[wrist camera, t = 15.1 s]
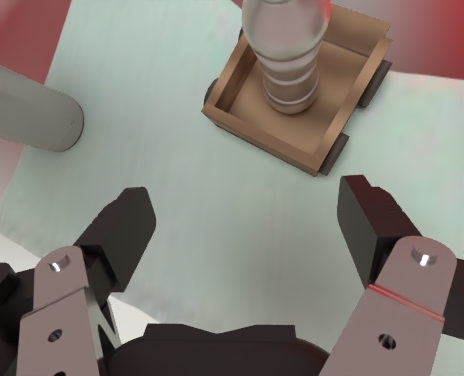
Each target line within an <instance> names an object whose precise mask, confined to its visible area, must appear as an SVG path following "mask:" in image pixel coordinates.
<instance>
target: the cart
mask: <svg viewBox="0 0 464 376" xmlns="http://www.w3.org/2000/svg"><path fill="white" fill-rule="evenodd" d="M390 26H391V24H390V23H387V22H384V21H381V20H378V19H375V18H372V17H369V16H367V15H364V14H360V13H358V12H355V11H352V10H349V9H346V8H343V7H340V6H337V5H334V4H331V13H330V19H329V23H328V27H327V30H326V33H325V35H324V38H323V40H322V43H321V46H320V48H319V53H318V58H317V66H318V70H319V74H320V89H319V93H318V95H317V97H316V98H315V100H314V102H313V103H312V104H311V105H310V106H309V107H308V108H307V109H305V110H304V111H302V112H299V113H295V114H286V113H282V112H280V111H278V110H276V109H275V108H273V107H272V106H271V104H270V103H269V102H268V101H267V99H266V97H265V95H264V92H263V70H262V66H261V64H260V62H259V59H258V58H257V56H256V54H255V53H254V51H253V50H252V48H251V46H250V45H249V43H248V41H247V39H246V37H245V35H244V31H243V28H241V30H240V34H239V39H238V43H237V45H236V47H235V49H234V51H233V53H232V54H231V56H230V58H229V60H228V62H227V64H226V66H225V68H224V69H223V71H222V73H221V75H220V77H219V78H217V79H215V80H214V81H213V82H212V84H211V85H210V87H209V88H208V90H207V93H206V95H205V99H204V107H203V109H202V111H201V112H202V113H203V114H204V115H205V116H206V117H208V118H209V119H210V120H211V121H212V122H213V123H214V124H215V125H216V126H218V127H220V128H222V129H224V130H226V131H228V132H229V133H231V134H233V135H235V136H237V137H239V138H241V139H243V140H245V141H247V142H249V143H251V144H253V145H254V146H256V147H258V148H260V149H262V150H264V151H266V152H268V153H270V154H272V155H274V156H276V157H278V158H279V159H281V160H283V161H285V162H287V163H289V164H291V165H293V166H295V167H297V168H299V169H301V170H303V171H304V172H306V173H308V174H310V175H312V176H314V177H315V176H316V174H317V173H318V171H319V172H320V173H322V174H324V175H326V176H327V175H328V173H329V171H330V170H331V168H332V167H333V165H334V163H335V161H336V160H337V158H338V156H339V155H340V153H341V151H342V150H343V148H344V146H345V144H346V143H347V141H348V139H349V137H350V136H348V135H345V134H343V133H341V131H342V129H343V128H344V126H345V124H346V123H347V121H348V119H349V117H350V116H351V114H352V112H353V110H354V109H355V107H356V105H357V104H360V105H362V106H364V107H367V106H368V104H369V102H370V101H371V99H372V98H373V96H374V94H375V93H376V91H377V89H378V88H379V86H380V84H381V82H382V81H383V79H384V77H385V76H386V74H387V72H388V70H389V69H390V67H391V65H392V63H391V62H388V61H386V60H383V58H384V56H385V54H386V52H387V51H388V49H389V47H390V45H391V43H392V41H393V40H392V39H389V38H386V37H384V36H385V35H386V33H387V31H388V30H389V28H390ZM382 60H383V61H382ZM381 62H382V63H381ZM380 63H381V64H380ZM379 65H380V66H379ZM378 67H379V68H378ZM377 69H378V70H377ZM375 72H376V73H375ZM374 74H375V75H374ZM373 76H374V77H373ZM371 79H372V80H371ZM370 81H371V82H370ZM369 83H370V84H369ZM368 84H369V85H368ZM367 86H368V87H367ZM366 88H367V89H366ZM365 90H366V91H365ZM364 91H365V92H364ZM363 93H364V94H363ZM362 95H363V96H362ZM361 97H362V98H361ZM360 98H361V99H360ZM359 100H360V101H359ZM358 102H359V103H358ZM340 133H341V134H340ZM338 136H339V137H338ZM337 138H338V139H337ZM336 140H337V141H336ZM334 143H335V144H334ZM333 145H334V146H333ZM331 148H332V149H331ZM330 150H331V151H330ZM329 152H330V153H329ZM327 155H328V156H327ZM326 157H327V158H326ZM325 159H326V160H325ZM323 162H324V163H323ZM322 164H323V165H322ZM321 166H322V167H321ZM319 169H320V170H319Z"/></svg>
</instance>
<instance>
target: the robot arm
mask: <svg viewBox="0 0 464 376" xmlns="http://www.w3.org/2000/svg"><path fill="white" fill-rule="evenodd" d="M82 127H83V114H82V111H81V108H80V106H79V105H78V103H77V102H76V101H75V100H73V99H71V98H70V97H67V96H65V95H63V94H61V93H59V92H57V91H54V90H52V89H50V88H48V87H46V86H44V85H42V84H39V83H37V82H35V81H33V80H31V79H29V78H27V77H24V76H22V75H20V74H18V73H16V72H13V71H11V70H9V69H7V68H5V67H3V66H0V139H1V140H6V141H10V142H14V143H19V144H24V145H28V146H32V147H37V148H41V149H46V150H51V151H58V152H59V151H64V150H66V149H68V148H70V147H71V146H72V145H73V144H74V143H75V142H76V141H77V139H78V138H79V136H80V134H81V131H82ZM337 217H338V222H339V225H340V228H341V230H342V233H343V235H344V238H345V241H346V243H347V246H348V248H349V251H350V253H351V256H352V258H353V261H354V263H355V266H356V268H357V271H358V273H359V276H360V278H361V281H362V283H363V286H364V288H365V292H364V294H363V296H362V298H361V299H360V301H359V303H358V305H357V307H356V309H355V310H354V312H353V314H352V316H351V318H350V319H349V321H348V323H347V325H346V327H345V328H344V330H343V332H342V334H341V336H340V338H339V339H338V341H337V343H336V345H335V347H334V348H333V350H332V352H331V354H329V353H328V352H326V351H325V350H323V349H322V348H320V347H318V346H316V345H314V344H312V343H310V342H308V341H305V340H302V339H299V338H296V334H295V325H253V326H249V327H245V328H241V329H237V330H233V331H228V332H224V333H220V334H215V333H211V332H208V331H204V330H201V329H197V328H194V327H191V326H187V325H184V324H148V325H147V327H146V329H145V332H144V335H143V336H141V337H139V338H136V339H133V340H131V341H128V342H127V343H125V344H121V341H120V337H119V334H118V330H117V326H116V323H115V320H114V316H113V312H112V309H111V305H110V302H109V300H108V296H109V295H110V293H111V292H124V291H125V289H126V287H127V285H128V283H129V281H130V279H131V277H132V275H133V273H134V271H135V269H136V267H137V265H138V263H139V261H140V259H141V257H142V255H143V253H144V251H145V249H146V247H147V245H148V243H149V241H150V239H151V237H152V235H153V233H154V231H155V228H156V216H155V213H154V210H153V207H152V204H151V201H150V198H149V195H148V192H147V190H146V188H145V187H133V188H126V189H124V191H123V192H122V193H121V194H120V196H119V197H118V198H117V199H116V200H114V201H113V202H111V203H110V204H108V205H107V206H105V207H104V208H103V210H102V211H101V212H100V213H99V214H98V217H96V218H95V219H94V220H93V222H92V224H90V225H89V226H88V228H87V229H86V230H85V231H84V232H83V234H82V235H81V236H80V237H79V238H78V240H77V241H76V242H75V243H74V244H73V246H66V247H62V248H59V249H57V250H55V251H53V252H51V253H49V254H48V255H46V256H45V257H44V258H43V259H41V260H40V262H39V263H38V264H37V266H36V268H33V269H29V270H25V271H22V272H17V273H15V272H14V270H13V269H12V268H11V266H10V265H9V264H7V263H0V376H430V374H431V370H432V367H433V363H434V359H435V355H436V351H437V348H438V344H439V340H440V336H441V333H442V334H446V335H449V336H453V337H456V338H460V339H463V340H464V260H462V259H458V258H456V257H455V255H454V253H453V252H452V251H451V250H450V249H449V248H448V247H446V246H445V245H443V244H442V243H440V242H438V241H435V240H433V239H430V238H426V237H423V236H422V235H421V233H420V232H419V231H418V230H417V228H416V227H415V226H414V224H413V223H412V222H411V220H410V219H409V218H408V216H407V215H406V214H405V213H404V212H402V209H401V207H400V206H399V205H398V204H397V202H396V201H395V200H394V198H393V197H392V196H391V194H390V193H388V192H386V191H385V190H383V189H382V188H380V187H371V185H370V184H369V182H368V181H367V179H366V178H365V176H364V175H348V176H342V177H341V179H340V187H339V196H338V206H337Z"/></svg>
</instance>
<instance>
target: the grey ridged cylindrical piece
mask: <svg viewBox="0 0 464 376" xmlns="http://www.w3.org/2000/svg"><path fill="white" fill-rule="evenodd" d="M330 13H331V3H330V0H244V1H243V8H242V28H243V31H244V35H245V37H246V39H247V41H248V43H249V45H250V46H251V48H252V50H253V51H254V53H255V54H256V56H257V58H258V59H259V62H260V64H261V66H262V70H263V92H264V95H265V97H266V99H267V101H268V102H269V103H270V104H271V106H272V107H273V108H275V109H276V110H278V111H280V112H282V113H286V114H295V113H299V112H302V111H304V110H305V109H307V108H308V107H309V106H310V105H311V104H312V103H313V102H314V100H315V98H316V97H317V95H318V93H319V89H320V74H319V70H318V66H317V58H318V53H319V48H320V46H321V43H322V40H323V38H324V35H325V33H326V30H327V27H328V23H329V19H330Z"/></svg>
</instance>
